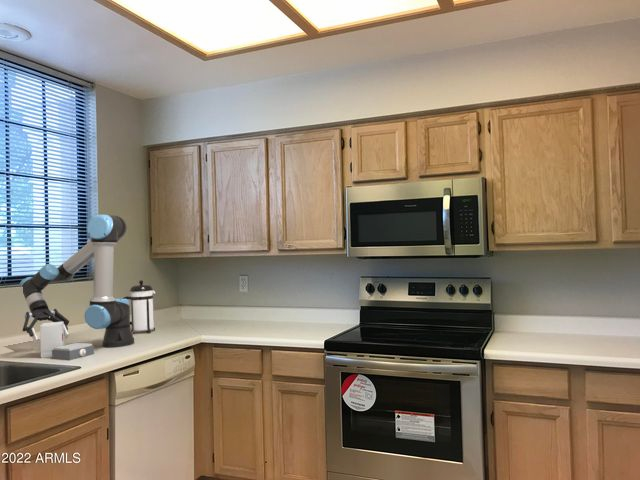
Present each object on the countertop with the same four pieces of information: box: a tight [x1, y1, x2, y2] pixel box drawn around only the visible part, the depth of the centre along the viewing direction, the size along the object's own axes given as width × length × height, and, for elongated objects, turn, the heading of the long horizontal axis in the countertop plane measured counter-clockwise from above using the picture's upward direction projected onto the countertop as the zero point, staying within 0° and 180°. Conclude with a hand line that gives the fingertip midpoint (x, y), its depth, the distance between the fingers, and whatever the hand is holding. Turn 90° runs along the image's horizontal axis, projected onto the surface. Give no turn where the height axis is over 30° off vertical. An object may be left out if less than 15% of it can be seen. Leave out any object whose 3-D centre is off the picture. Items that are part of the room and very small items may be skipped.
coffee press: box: [121, 279, 156, 335], centre depth 295 cm, size 17×16×30 cm
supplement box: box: [39, 321, 65, 359], centre depth 238 cm, size 9×9×15 cm
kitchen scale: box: [51, 342, 95, 361], centre depth 233 cm, size 13×12×5 cm
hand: (52, 338), depth 237 cm, fingers open, 13 cm apart
